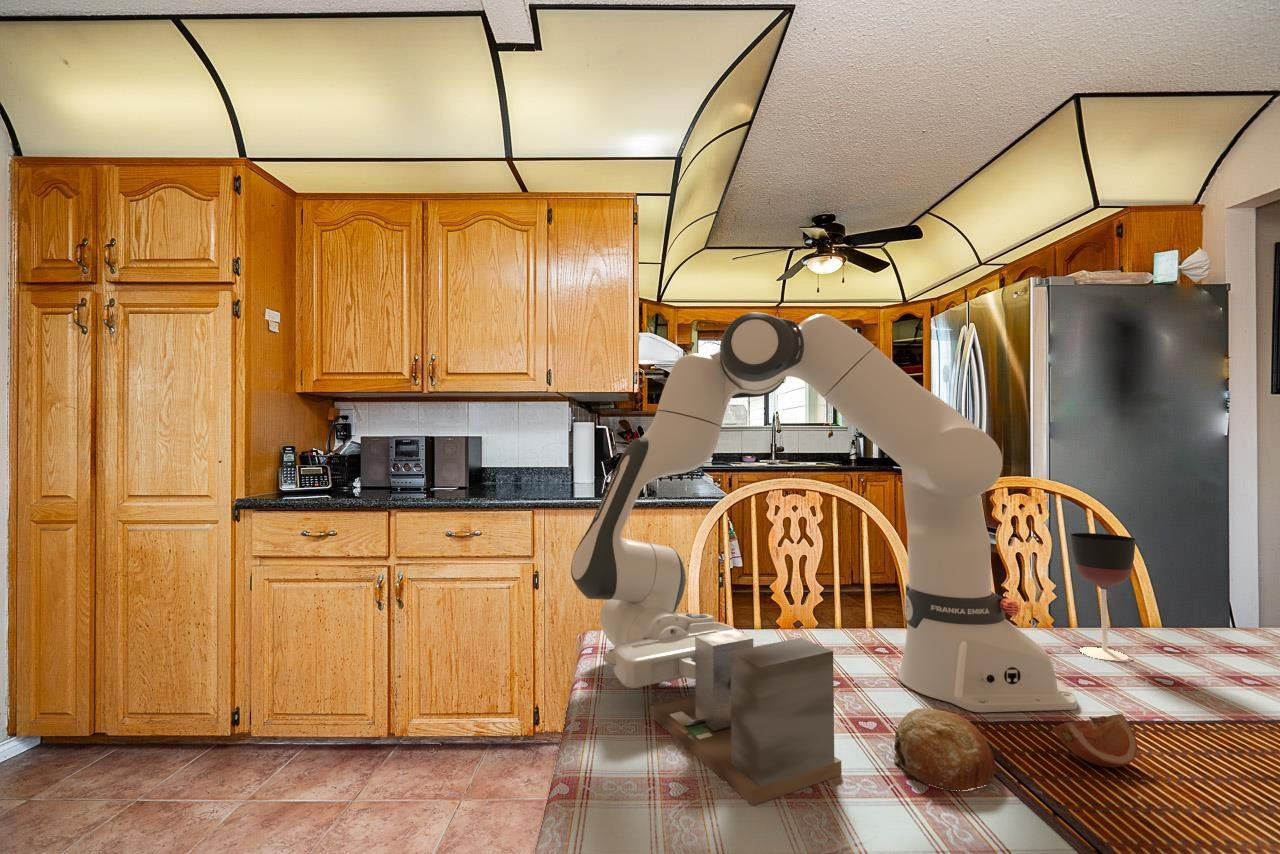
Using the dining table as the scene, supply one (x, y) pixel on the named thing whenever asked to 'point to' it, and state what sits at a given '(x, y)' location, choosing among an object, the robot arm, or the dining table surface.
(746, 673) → the base
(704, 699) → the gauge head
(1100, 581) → the wineglass
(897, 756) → the bread roll
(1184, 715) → the dining table surface
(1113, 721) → the fruit slice
